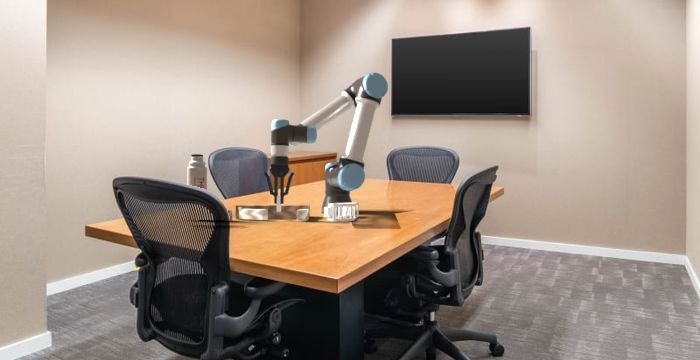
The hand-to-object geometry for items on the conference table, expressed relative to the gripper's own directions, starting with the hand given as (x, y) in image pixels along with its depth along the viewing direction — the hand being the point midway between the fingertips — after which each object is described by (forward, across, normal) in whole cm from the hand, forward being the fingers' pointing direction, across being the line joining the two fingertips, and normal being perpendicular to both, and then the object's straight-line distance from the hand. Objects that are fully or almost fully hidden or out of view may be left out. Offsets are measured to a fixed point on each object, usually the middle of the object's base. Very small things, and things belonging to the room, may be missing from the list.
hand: (278, 211), depth 217 cm
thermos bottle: (+5, +34, +1) cm, 35 cm away
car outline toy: (+4, -27, -6) cm, 28 cm away
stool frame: (+4, +4, -10) cm, 12 cm away
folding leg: (+4, +17, -5) cm, 18 cm away
